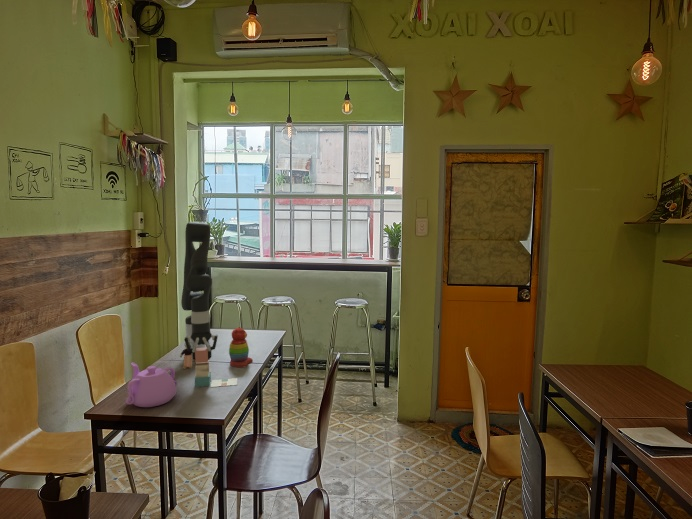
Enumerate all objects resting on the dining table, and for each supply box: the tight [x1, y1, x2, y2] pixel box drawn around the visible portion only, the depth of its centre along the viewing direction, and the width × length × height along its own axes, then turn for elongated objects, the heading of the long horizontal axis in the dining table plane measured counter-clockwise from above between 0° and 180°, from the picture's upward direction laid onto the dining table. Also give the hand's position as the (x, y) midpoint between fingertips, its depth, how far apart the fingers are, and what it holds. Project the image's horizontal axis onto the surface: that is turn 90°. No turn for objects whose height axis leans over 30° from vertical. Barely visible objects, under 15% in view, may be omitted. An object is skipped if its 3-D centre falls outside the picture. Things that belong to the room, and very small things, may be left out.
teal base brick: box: [194, 371, 212, 388], centre depth 192 cm, size 6×6×4 cm
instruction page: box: [210, 377, 239, 388], centre depth 193 cm, size 8×11×1 cm
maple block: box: [195, 360, 210, 377], centre depth 192 cm, size 5×5×5 cm
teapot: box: [125, 361, 178, 408], centre depth 175 cm, size 22×22×14 cm
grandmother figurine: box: [179, 342, 193, 370], centre depth 213 cm, size 8×4×13 cm, turn 117°
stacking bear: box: [228, 326, 253, 368], centre depth 218 cm, size 11×10×18 cm
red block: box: [194, 346, 209, 364], centre depth 191 cm, size 5×5×5 cm
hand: (202, 359), depth 191 cm, fingers closed on red block, 5 cm apart
